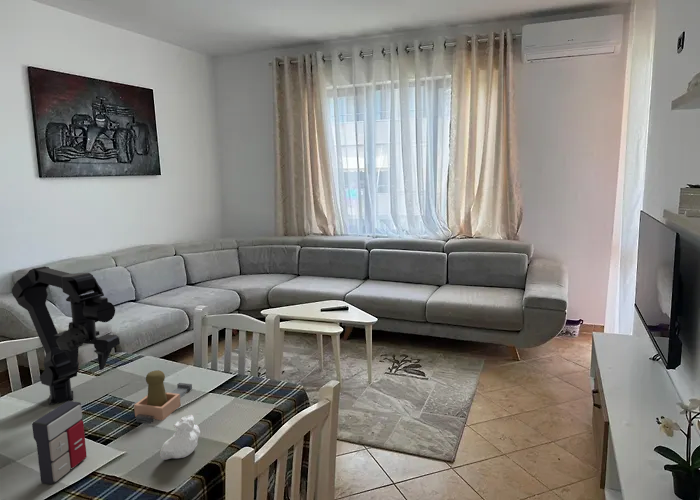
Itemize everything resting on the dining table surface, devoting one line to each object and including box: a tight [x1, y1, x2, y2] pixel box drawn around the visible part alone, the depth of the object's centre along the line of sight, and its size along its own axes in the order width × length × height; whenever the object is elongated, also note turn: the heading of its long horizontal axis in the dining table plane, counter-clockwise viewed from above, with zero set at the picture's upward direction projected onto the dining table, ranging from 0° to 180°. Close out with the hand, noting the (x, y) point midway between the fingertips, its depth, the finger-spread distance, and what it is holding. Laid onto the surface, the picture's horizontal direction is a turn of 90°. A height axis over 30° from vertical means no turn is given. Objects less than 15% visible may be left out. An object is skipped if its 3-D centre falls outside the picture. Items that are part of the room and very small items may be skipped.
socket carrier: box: [133, 391, 181, 421], centre depth 144 cm, size 9×9×4 cm
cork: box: [145, 370, 168, 407], centre depth 143 cm, size 6×6×11 cm
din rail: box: [135, 382, 193, 425], centre depth 148 cm, size 4×22×2 cm, turn 167°
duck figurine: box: [159, 414, 201, 461], centre depth 122 cm, size 12×8×11 cm
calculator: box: [31, 400, 88, 485], centre depth 115 cm, size 11×4×15 cm, turn 168°
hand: (88, 367), depth 143 cm, fingers open, 9 cm apart
